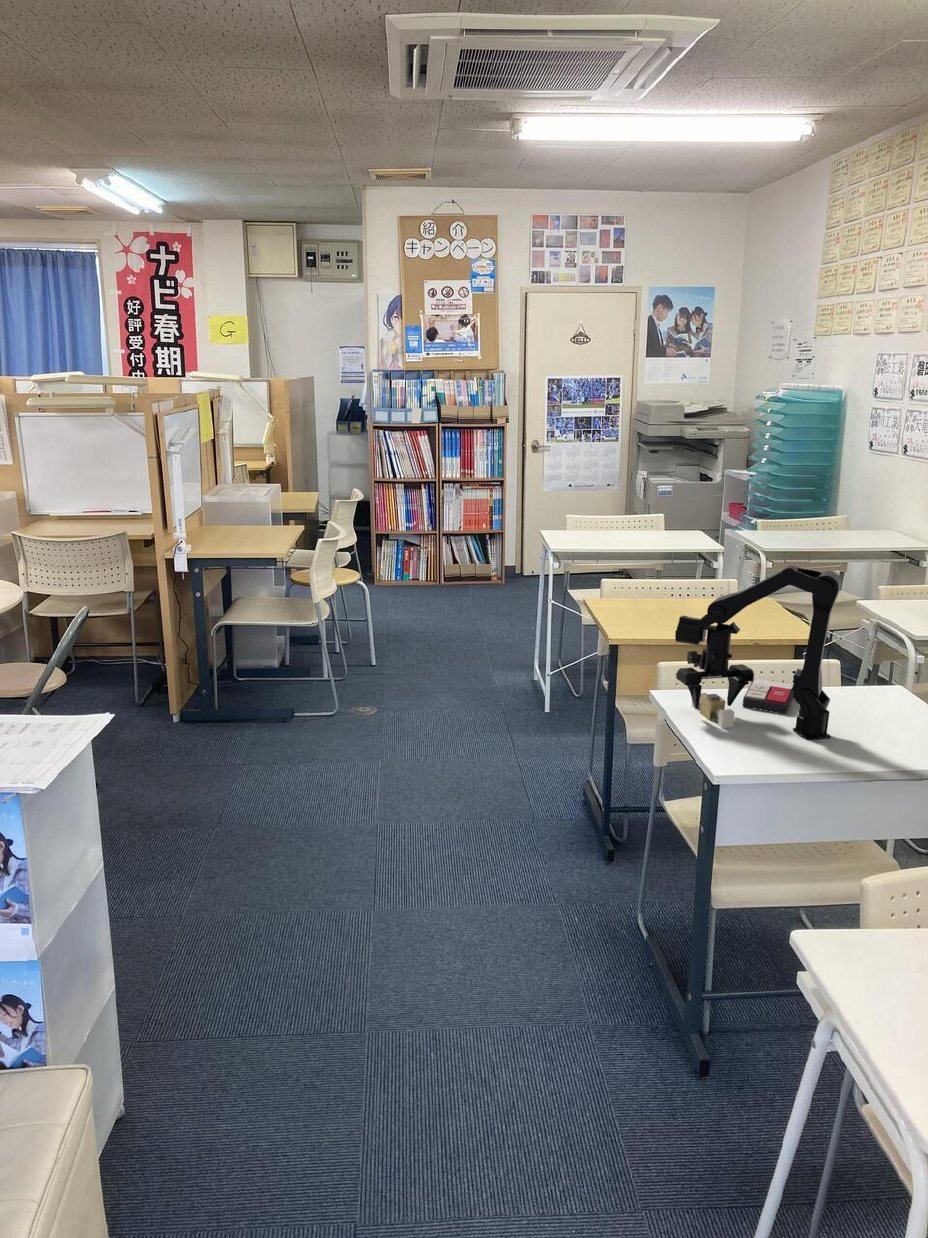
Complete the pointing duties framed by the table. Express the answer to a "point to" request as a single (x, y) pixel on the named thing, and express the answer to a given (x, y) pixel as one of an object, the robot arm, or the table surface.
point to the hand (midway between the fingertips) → (712, 706)
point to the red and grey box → (769, 696)
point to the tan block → (711, 705)
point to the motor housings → (723, 716)
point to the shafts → (715, 711)
